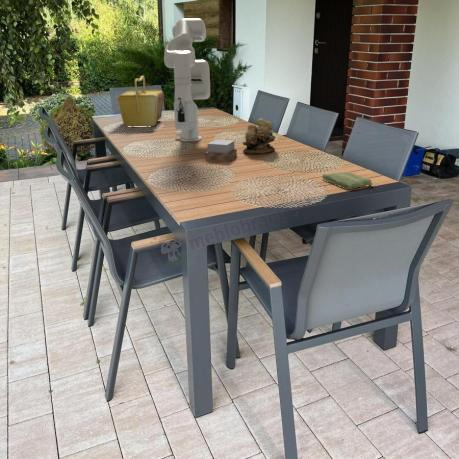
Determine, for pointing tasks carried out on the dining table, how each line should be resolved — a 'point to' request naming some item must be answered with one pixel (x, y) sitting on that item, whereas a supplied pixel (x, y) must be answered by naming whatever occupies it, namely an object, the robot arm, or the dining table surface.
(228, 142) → the grey top block
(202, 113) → the dining table surface
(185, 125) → the supplement box
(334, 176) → the washcloth
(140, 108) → the picnic basket
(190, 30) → the robot arm
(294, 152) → the dining table surface
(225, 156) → the walnut base block
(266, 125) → the carved figurine
